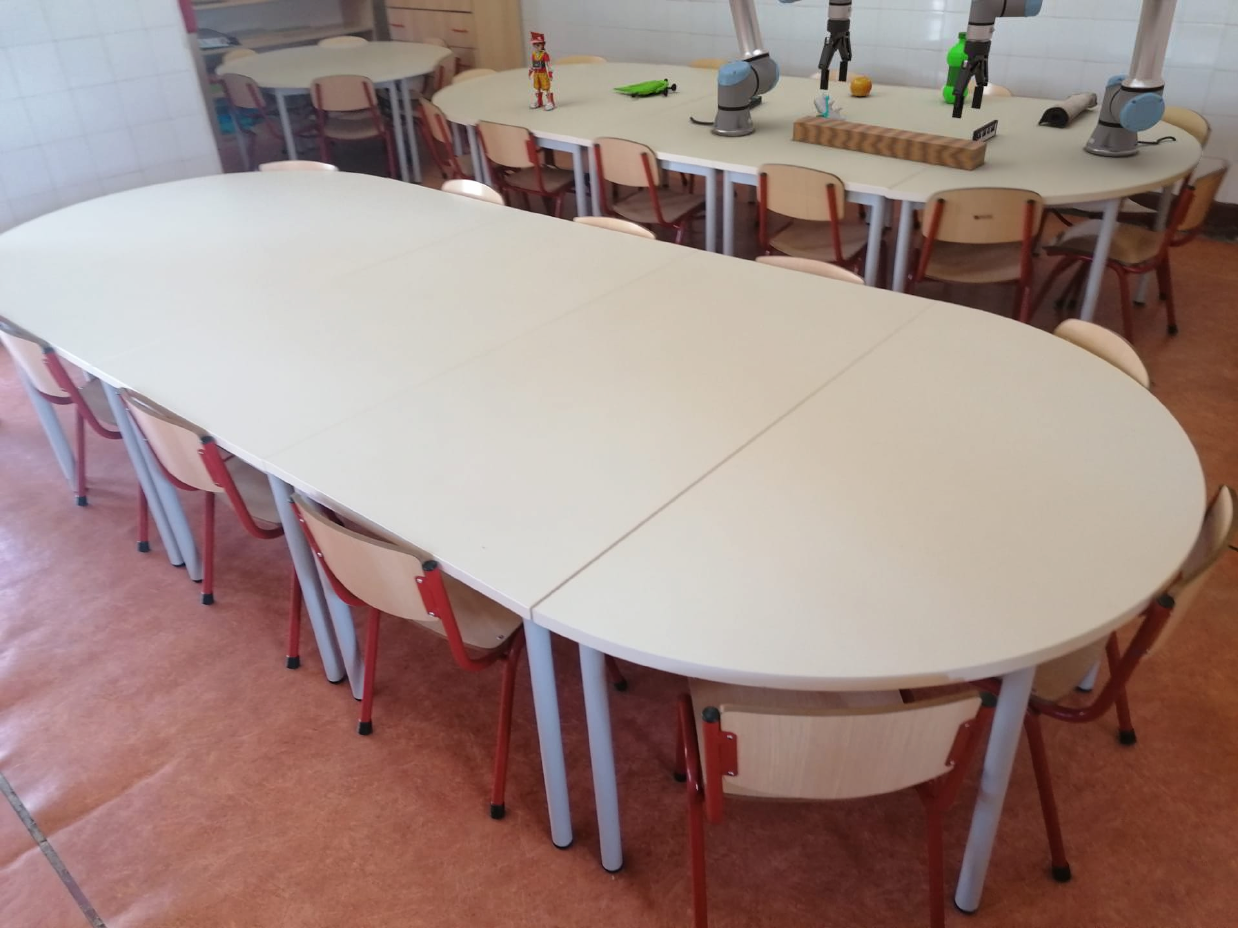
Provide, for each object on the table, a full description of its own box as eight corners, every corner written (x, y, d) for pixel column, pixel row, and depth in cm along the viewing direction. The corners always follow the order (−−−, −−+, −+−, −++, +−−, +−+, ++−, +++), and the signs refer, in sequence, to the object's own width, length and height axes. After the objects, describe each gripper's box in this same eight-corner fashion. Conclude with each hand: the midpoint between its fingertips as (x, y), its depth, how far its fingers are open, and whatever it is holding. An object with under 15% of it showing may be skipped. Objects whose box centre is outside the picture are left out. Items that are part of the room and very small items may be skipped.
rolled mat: (1065, 97, 339) (1089, 80, 331) (1078, 117, 340) (1103, 101, 331) (1034, 118, 322) (1058, 101, 314) (1048, 140, 322) (1073, 123, 314)
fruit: (845, 88, 367) (857, 70, 364) (847, 92, 375) (859, 74, 372) (862, 99, 366) (874, 81, 363) (864, 103, 374) (876, 85, 371)
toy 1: (525, 109, 381) (517, 32, 364) (534, 104, 388) (527, 28, 371) (550, 110, 377) (543, 32, 360) (559, 105, 384) (553, 28, 367)
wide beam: (792, 140, 323) (793, 121, 320) (806, 134, 329) (808, 115, 325) (970, 170, 285) (974, 150, 281) (983, 163, 290) (987, 142, 287)
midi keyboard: (974, 147, 304) (977, 131, 301) (970, 146, 305) (973, 131, 302) (995, 135, 315) (998, 120, 312) (992, 134, 315) (994, 119, 313)
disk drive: (746, 111, 360) (762, 102, 370) (746, 104, 358) (762, 95, 368) (723, 109, 364) (739, 100, 374) (723, 102, 363) (739, 93, 373)
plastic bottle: (973, 101, 354) (984, 32, 339) (955, 106, 349) (966, 36, 335) (952, 97, 361) (962, 29, 346) (934, 102, 356) (944, 33, 342)
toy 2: (686, 85, 398) (631, 84, 414) (685, 72, 395) (629, 72, 411) (651, 104, 381) (596, 103, 397) (650, 92, 378) (594, 91, 394)
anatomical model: (809, 92, 345) (834, 85, 344) (812, 119, 351) (837, 112, 350) (819, 101, 333) (845, 94, 332) (822, 129, 339) (848, 122, 338)
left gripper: (831, 25, 291) (825, 94, 303) (866, 13, 306) (859, 79, 319) (810, 24, 295) (806, 92, 307) (846, 12, 310) (840, 77, 323)
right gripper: (972, 48, 260) (959, 123, 272) (1008, 34, 275) (994, 106, 287) (947, 45, 265) (936, 120, 277) (984, 32, 279) (972, 103, 291)
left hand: (833, 85), depth 313 cm, fingers open, 13 cm apart
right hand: (966, 113), depth 282 cm, fingers open, 13 cm apart
